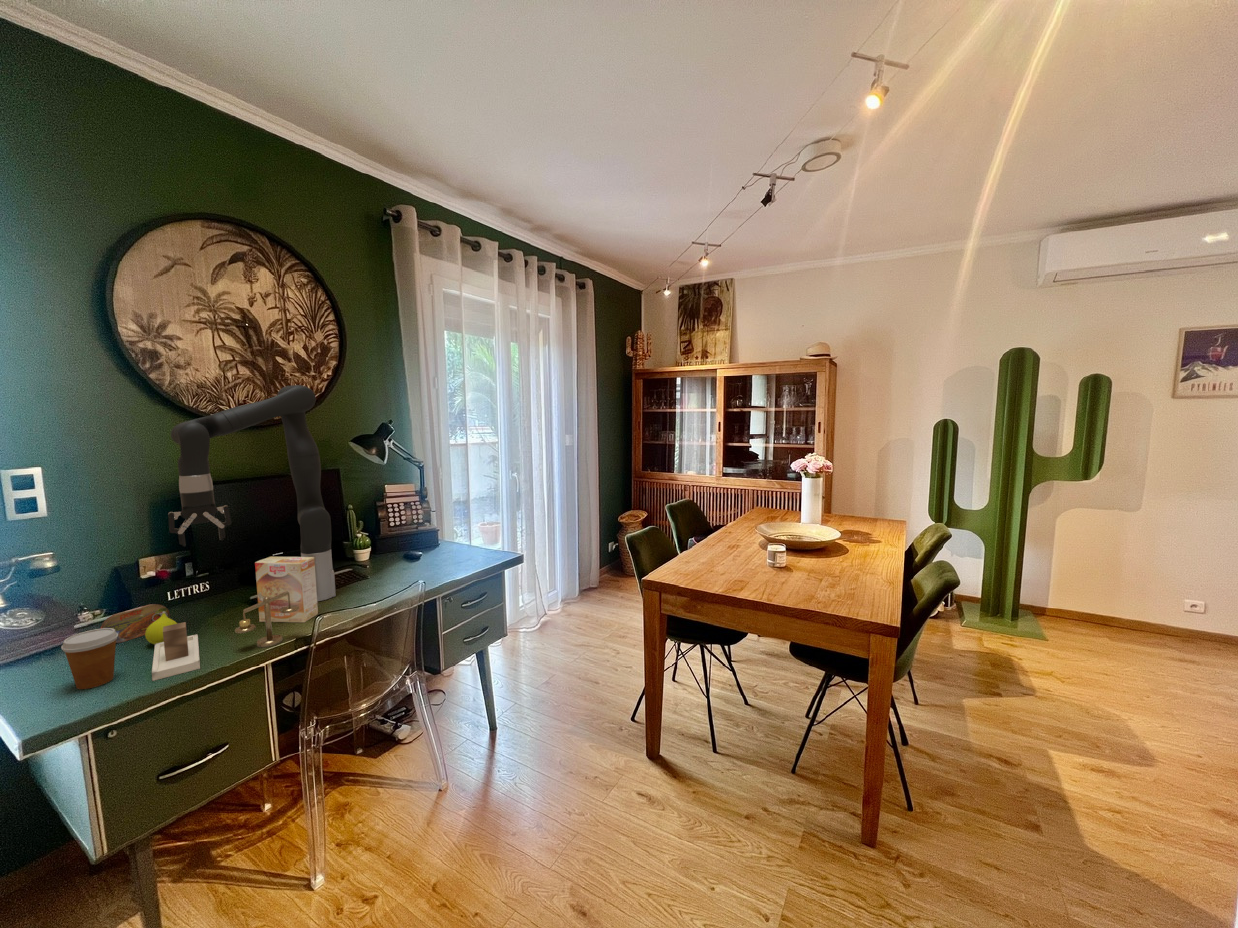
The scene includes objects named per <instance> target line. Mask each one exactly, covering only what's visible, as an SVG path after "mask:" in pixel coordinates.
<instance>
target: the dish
mask: <svg viewBox="0 0 1238 928" xmlns="http://www.w3.org/2000/svg"><path fill="white" fill-rule="evenodd" d="M187 641H188V656H186V657H182V658H178V659H173V660H169V661H166V658H165V649H164V642H161V643H156V644H154V651H153V658H152V666H151V667H152V668H151V680H152V682H154V681H157V680H161V679H164V678H165V679H166V678H169V677H173V676H177V675H181V674H184V673H188V672H192V671H195V670H200V669H201V660H200V648H199V636H198V633H197V634H192V635H187Z"/></svg>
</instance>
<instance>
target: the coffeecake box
mask: <svg viewBox="0 0 1238 928" xmlns="http://www.w3.org/2000/svg"><path fill="white" fill-rule="evenodd" d="M254 567H255V580H256V592H257V593H256V594H257V604H258V603H260V602H263V599H264V598H265V597H269V598H272V597H274V596H277V595H279V594H282V593H284V592H286V591H288V592H289V594H290V605H298V606H299V609H298V610H297V611H294V612H291V613H281V612H280V609H281V608H283V607H286V606H289V603H288V595H286V596H284V597H282V598H279V599H277V600H275V601H272V602H270V610H271V623H306V622H308V621H309V620H310V619H312V618H314V617H317V615H318V614H319V609H318V601H317V592H316V577H315V563H314V557H301V556H272V555H271V556H268V557H266V558H262V559H259V560H257V561H255V562H254ZM257 609H258V617H259V620H258V621H259V622H260V623H262V622H263V623H265V611H264V605H263V606H261V607H258V608H257Z"/></svg>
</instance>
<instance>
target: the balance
mask: <svg viewBox="0 0 1238 928" xmlns="http://www.w3.org/2000/svg"><path fill="white" fill-rule="evenodd" d="M286 595H288V603H289V606H286V607H283V608H281V609H280V612H281V613H291V612H294V611H297V610H298V609H299V606H298V605H290V594H289V592H288V591H286V592H284V593H282V594H279V595H277V596H274V597H272V598H269V597H265V598H264V599H263V602H260V603H258V602H257V603H256V604H253V605H251V606H249V607H246V608H244V609H243V612H242V616H243V619H242V620H239V623H238V624H239V626H238V627H235V629H234V632H235V634H245V633H249V632H253V631H254V630H256V624H254V623H251V619H250V618H246V613H249V612H251V611H253V610H256V609H259V608H258V607H261V606H263V605H264V611H265V622H264V624H265V635H266V636H264V637H261V638H259V639H258V640H257V641H256V646H257V648H261V649H262V648H270V647H274V646H277V645H279V644H280V643H282V642H283V635H281V634H273V626H272V623H273V622H271V610H270V602H272V601H275V600H277V599H279V598H282V597H284V596H286Z"/></svg>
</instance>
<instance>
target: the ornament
mask: <svg viewBox="0 0 1238 928" xmlns="http://www.w3.org/2000/svg"><path fill="white" fill-rule="evenodd" d="M165 612H166V611H163V614H162V616H161V617H160V618H159V619H158V620H156V621H155V622H153V623H152V624H151V625H150V626H149V627H148V628H147V630H146V632H145V635H144V636H145V640H146V641H147V642H149V644H152V645H155V644H156V643H161V642H164V639H163V627H164V626H169V625H173V624H178V622H176V621H175V620H173V619H172V618H170V617H169V618H168V617H167V616H166V614H165Z"/></svg>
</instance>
